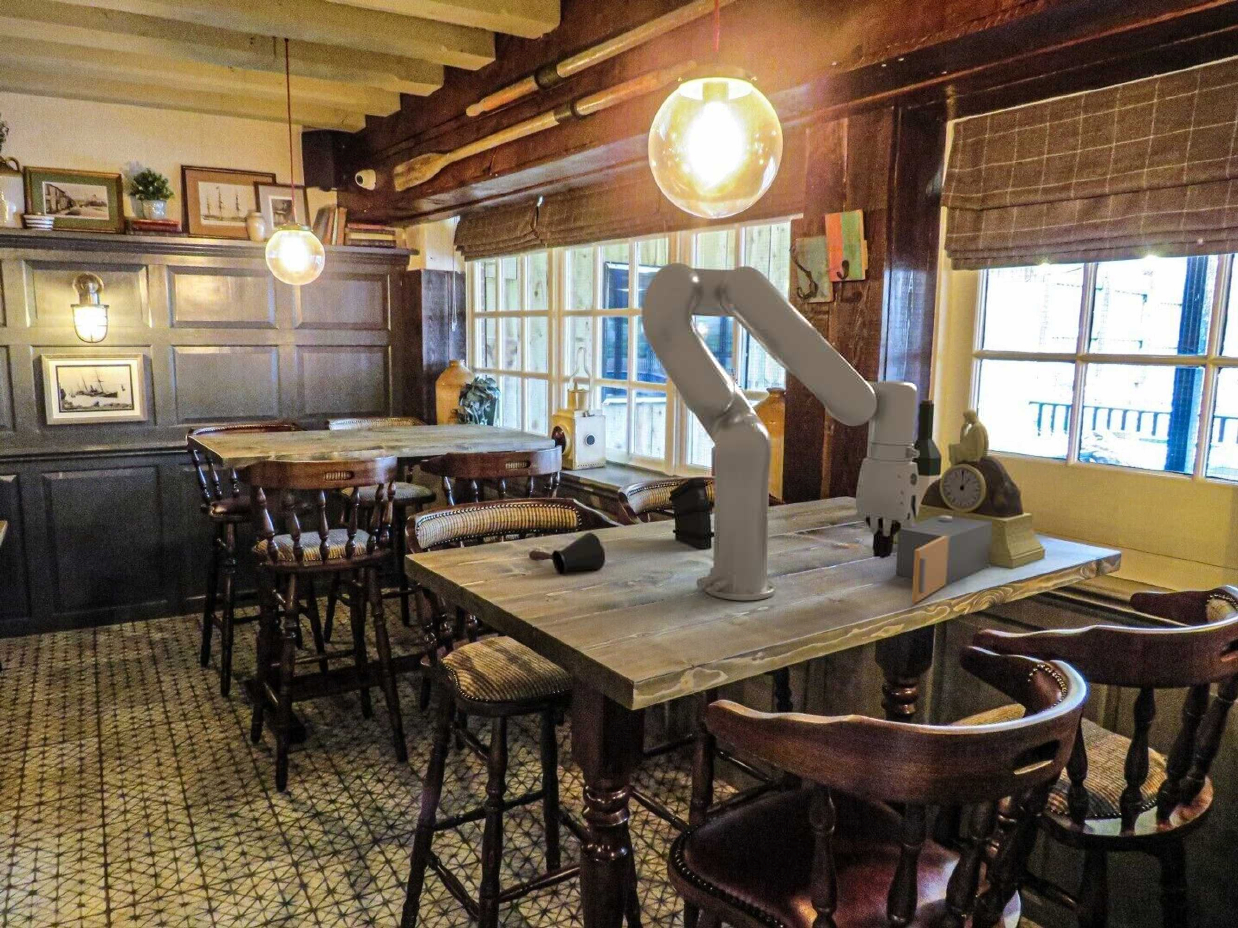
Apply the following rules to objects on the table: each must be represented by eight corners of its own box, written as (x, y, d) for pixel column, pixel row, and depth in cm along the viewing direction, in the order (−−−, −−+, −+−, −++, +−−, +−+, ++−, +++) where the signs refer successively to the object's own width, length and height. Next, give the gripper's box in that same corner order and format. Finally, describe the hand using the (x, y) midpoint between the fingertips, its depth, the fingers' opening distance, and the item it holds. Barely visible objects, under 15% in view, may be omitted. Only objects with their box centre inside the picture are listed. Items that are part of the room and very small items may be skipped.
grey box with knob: (946, 585, 158) (949, 533, 156) (896, 574, 165) (898, 524, 163) (994, 564, 172) (997, 516, 170) (946, 555, 179) (948, 509, 177)
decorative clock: (889, 541, 191) (895, 407, 187) (923, 533, 199) (929, 403, 194) (1012, 568, 169) (1022, 417, 165) (1044, 558, 177) (1055, 413, 172)
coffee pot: (609, 570, 167) (571, 583, 163) (566, 561, 182) (530, 573, 178) (601, 533, 166) (563, 545, 162) (558, 527, 181) (522, 538, 177)
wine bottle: (944, 528, 204) (951, 401, 199) (908, 527, 204) (915, 401, 199) (931, 520, 212) (938, 398, 207) (897, 520, 212) (903, 398, 207)
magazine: (706, 546, 180) (691, 478, 184) (677, 559, 192) (663, 494, 195) (721, 544, 182) (706, 476, 186) (692, 557, 193) (678, 493, 197)
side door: (950, 583, 157) (953, 535, 156) (920, 602, 146) (922, 551, 145) (942, 582, 158) (945, 534, 156) (911, 601, 147) (914, 549, 146)
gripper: (941, 456, 146) (932, 561, 149) (863, 446, 156) (856, 544, 159) (919, 460, 141) (910, 569, 143) (840, 449, 151) (833, 551, 154)
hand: (882, 555), depth 151 cm, fingers closed
